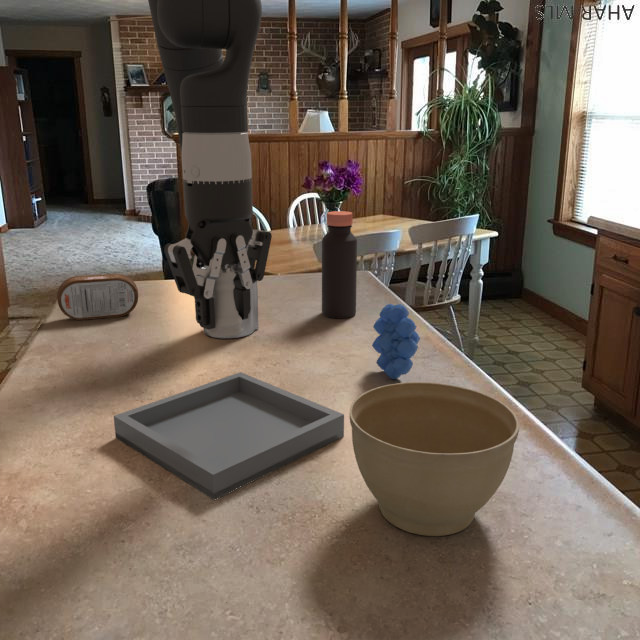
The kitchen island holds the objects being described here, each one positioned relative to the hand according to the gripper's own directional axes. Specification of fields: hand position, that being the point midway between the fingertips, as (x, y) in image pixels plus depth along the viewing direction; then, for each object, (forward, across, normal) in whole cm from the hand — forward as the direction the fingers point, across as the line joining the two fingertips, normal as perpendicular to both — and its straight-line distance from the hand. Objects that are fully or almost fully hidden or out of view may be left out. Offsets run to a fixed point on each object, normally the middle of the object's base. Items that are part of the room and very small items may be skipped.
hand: (224, 322), depth 80 cm
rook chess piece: (+2, 0, 0) cm, 2 cm away
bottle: (+15, -48, -26) cm, 57 cm away
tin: (+15, -14, -58) cm, 61 cm away
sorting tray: (+15, 0, 0) cm, 15 cm away
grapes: (+15, -30, +3) cm, 34 cm away
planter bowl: (+15, -4, +27) cm, 31 cm away
